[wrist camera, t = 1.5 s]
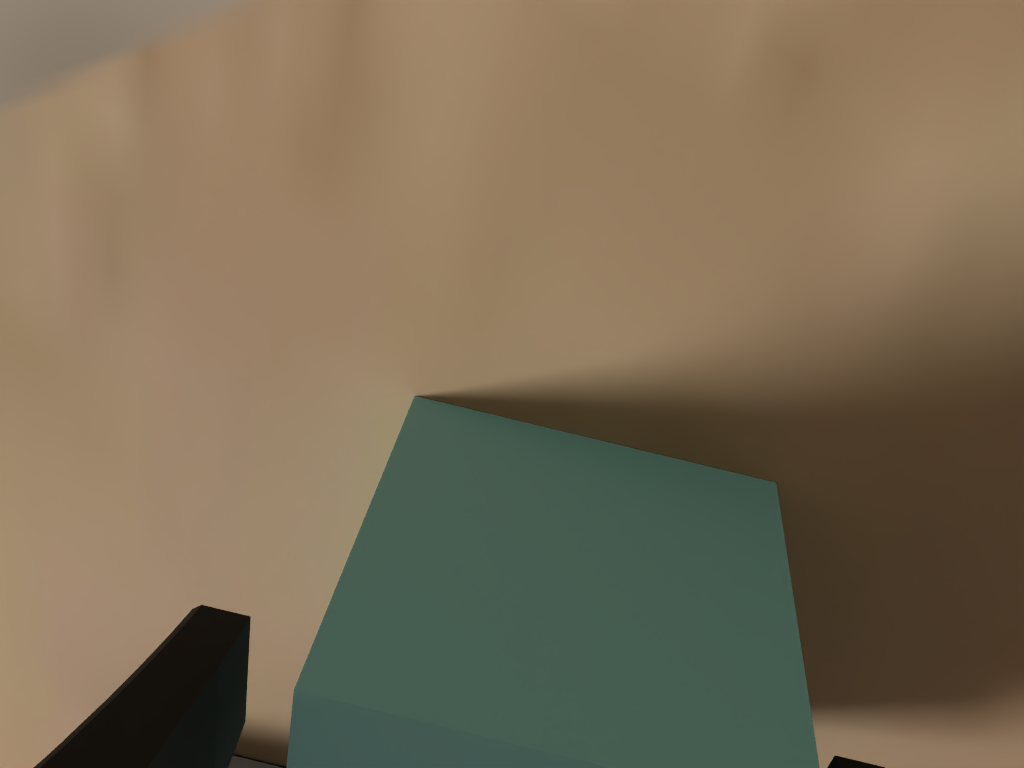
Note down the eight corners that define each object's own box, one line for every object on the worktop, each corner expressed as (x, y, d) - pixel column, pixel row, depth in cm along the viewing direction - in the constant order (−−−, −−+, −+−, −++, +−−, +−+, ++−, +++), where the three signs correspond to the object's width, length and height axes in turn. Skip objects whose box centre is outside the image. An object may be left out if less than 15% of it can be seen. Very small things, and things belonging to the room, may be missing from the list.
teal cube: (775, 478, 13) (828, 821, 9) (671, 708, 16) (671, 1051, 11) (416, 392, 13) (294, 690, 9) (375, 636, 16) (268, 951, 11)
